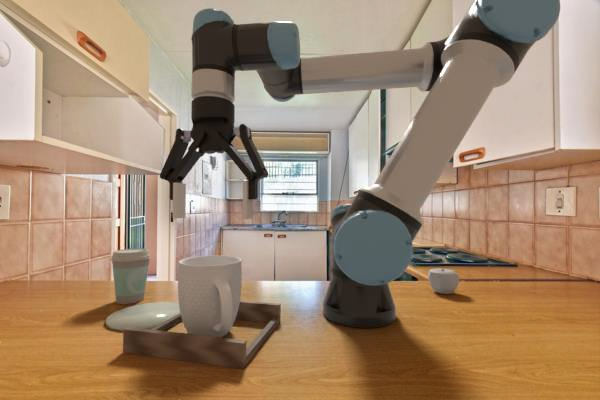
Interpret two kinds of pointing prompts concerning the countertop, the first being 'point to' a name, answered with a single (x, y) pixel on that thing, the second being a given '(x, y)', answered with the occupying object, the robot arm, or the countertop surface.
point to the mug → (209, 293)
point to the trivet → (142, 315)
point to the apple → (443, 280)
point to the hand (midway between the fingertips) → (212, 218)
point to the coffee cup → (130, 274)
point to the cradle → (203, 339)
